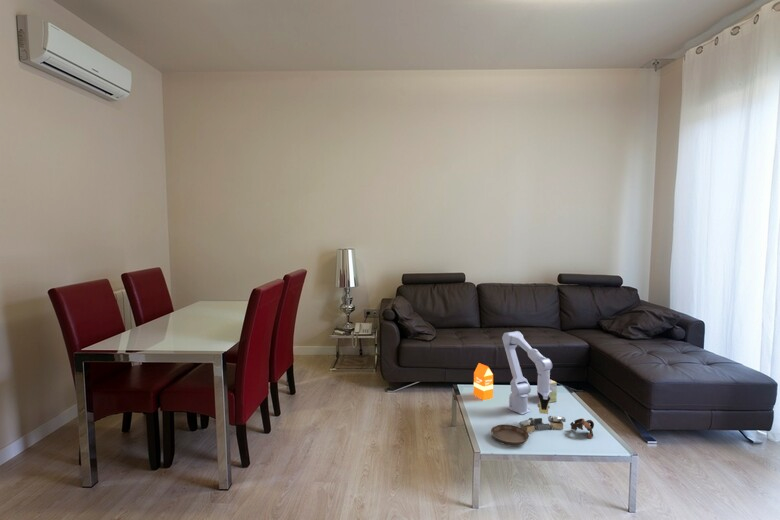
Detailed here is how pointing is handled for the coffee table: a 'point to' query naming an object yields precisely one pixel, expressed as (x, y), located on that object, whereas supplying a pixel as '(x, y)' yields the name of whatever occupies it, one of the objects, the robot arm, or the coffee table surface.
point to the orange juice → (483, 382)
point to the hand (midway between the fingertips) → (543, 407)
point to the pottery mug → (587, 424)
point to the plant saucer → (510, 434)
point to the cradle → (540, 424)
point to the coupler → (541, 408)
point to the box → (554, 391)
